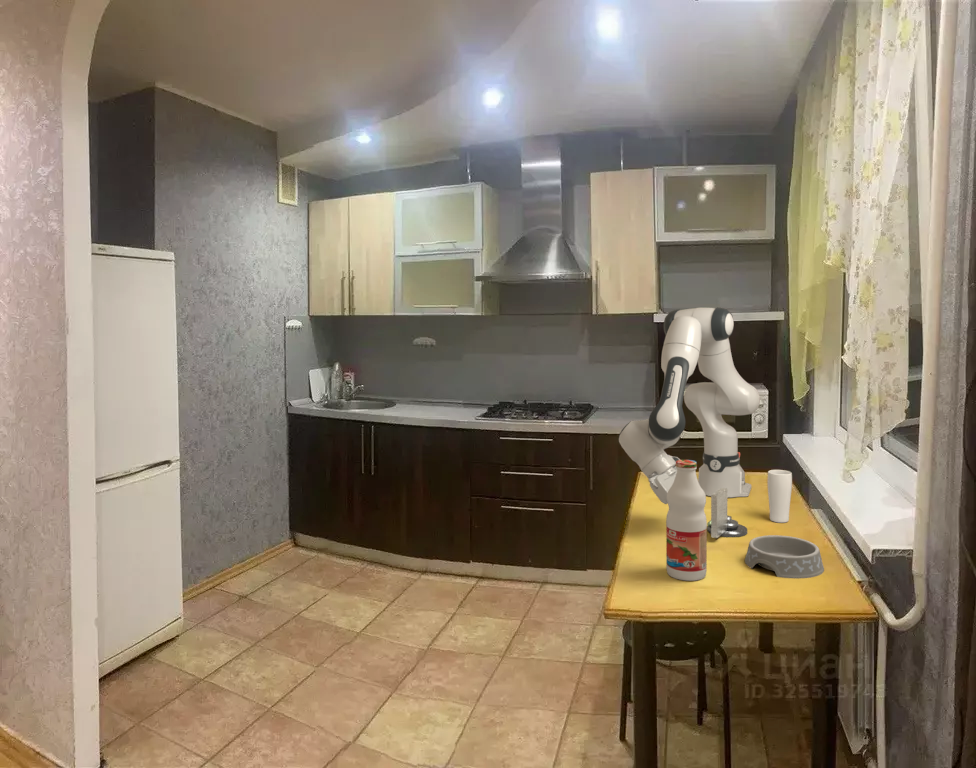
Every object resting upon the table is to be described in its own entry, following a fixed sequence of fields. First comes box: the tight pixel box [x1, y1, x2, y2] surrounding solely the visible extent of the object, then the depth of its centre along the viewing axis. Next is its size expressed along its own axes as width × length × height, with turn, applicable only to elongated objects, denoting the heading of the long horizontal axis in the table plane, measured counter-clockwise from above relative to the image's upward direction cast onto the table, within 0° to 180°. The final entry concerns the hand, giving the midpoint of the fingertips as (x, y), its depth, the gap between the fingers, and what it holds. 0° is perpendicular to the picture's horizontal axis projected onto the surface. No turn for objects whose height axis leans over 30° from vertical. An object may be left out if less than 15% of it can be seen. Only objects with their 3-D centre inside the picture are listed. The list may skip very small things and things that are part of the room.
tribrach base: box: [707, 519, 748, 538], centre depth 196 cm, size 11×11×2 cm
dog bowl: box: [744, 534, 825, 579], centre depth 169 cm, size 17×18×5 cm
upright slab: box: [710, 488, 739, 539], centre depth 192 cm, size 14×6×12 cm, turn 143°
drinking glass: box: [767, 469, 793, 524], centre depth 203 cm, size 7×7×15 cm
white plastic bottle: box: [665, 459, 708, 582], centre depth 163 cm, size 9×9×28 cm
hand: (693, 506), depth 192 cm, fingers closed
